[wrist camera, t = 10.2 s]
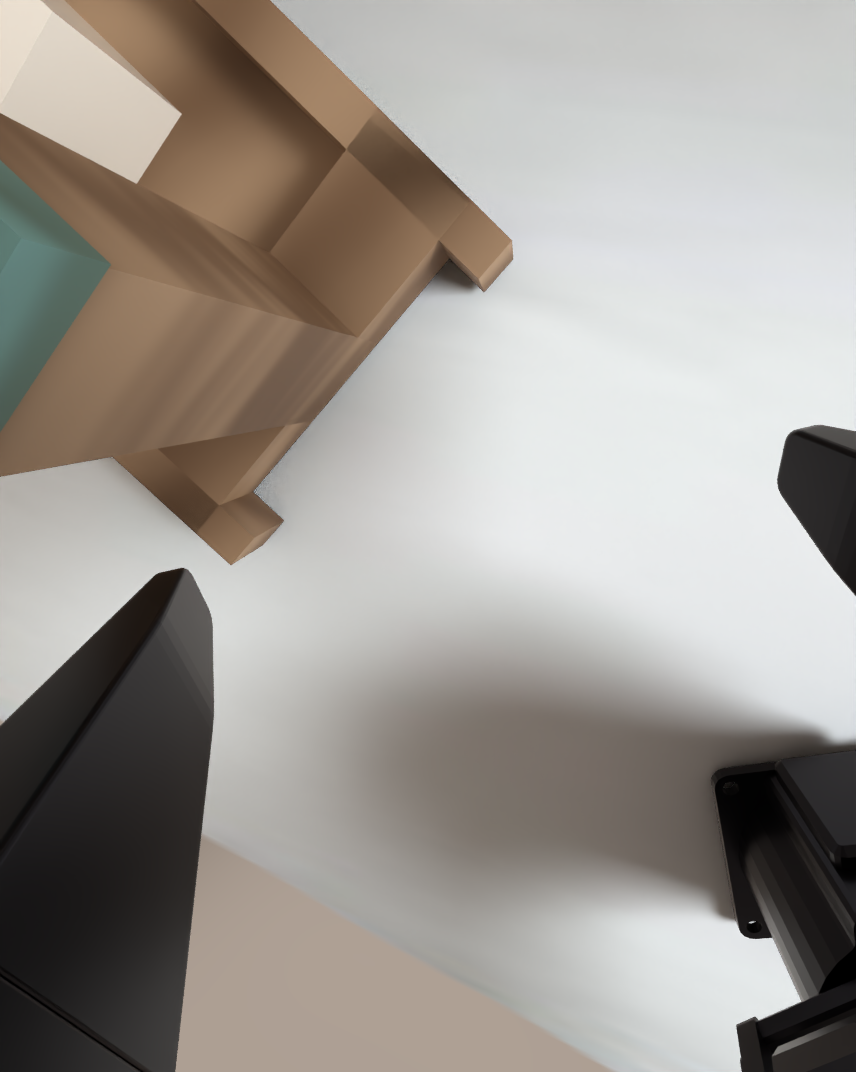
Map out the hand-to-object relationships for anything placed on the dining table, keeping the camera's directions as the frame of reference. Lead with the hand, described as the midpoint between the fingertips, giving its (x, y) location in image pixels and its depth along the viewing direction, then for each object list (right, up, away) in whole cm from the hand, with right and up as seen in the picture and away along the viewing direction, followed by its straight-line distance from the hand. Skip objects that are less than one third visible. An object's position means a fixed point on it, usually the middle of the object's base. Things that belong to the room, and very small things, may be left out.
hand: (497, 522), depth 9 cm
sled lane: (-9, +10, +10) cm, 16 cm away
